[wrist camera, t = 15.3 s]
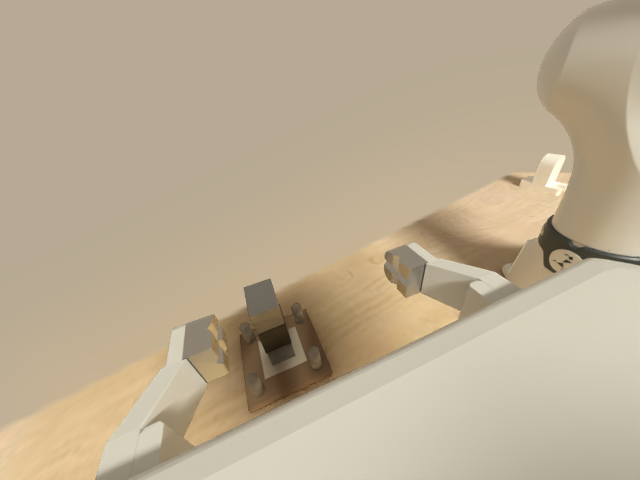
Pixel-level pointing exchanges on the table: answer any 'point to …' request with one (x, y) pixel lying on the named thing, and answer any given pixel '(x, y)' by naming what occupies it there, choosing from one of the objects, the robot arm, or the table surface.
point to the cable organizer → (546, 176)
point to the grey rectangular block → (269, 321)
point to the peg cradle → (287, 375)
